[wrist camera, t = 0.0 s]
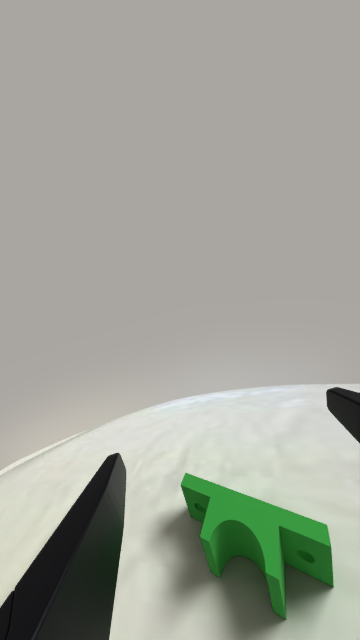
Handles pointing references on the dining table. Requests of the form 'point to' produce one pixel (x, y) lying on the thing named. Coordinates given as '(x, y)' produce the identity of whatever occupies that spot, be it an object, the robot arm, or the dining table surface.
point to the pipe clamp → (257, 536)
